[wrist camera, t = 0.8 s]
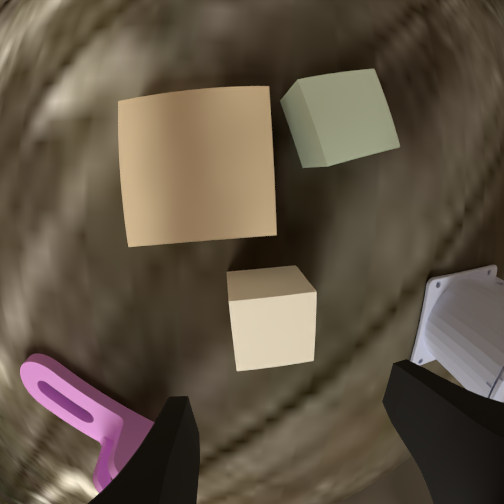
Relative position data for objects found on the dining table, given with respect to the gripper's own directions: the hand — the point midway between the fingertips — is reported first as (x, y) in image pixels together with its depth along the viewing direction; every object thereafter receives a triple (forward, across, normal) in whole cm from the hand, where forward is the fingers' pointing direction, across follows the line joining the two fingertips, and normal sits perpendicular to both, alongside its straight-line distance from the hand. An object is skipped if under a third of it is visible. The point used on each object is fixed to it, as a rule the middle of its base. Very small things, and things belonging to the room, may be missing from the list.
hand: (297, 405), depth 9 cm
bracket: (+9, +15, +9) cm, 20 cm away
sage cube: (+9, -4, -10) cm, 14 cm away
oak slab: (+9, +3, -8) cm, 12 cm away
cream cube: (+9, 0, 0) cm, 9 cm away
